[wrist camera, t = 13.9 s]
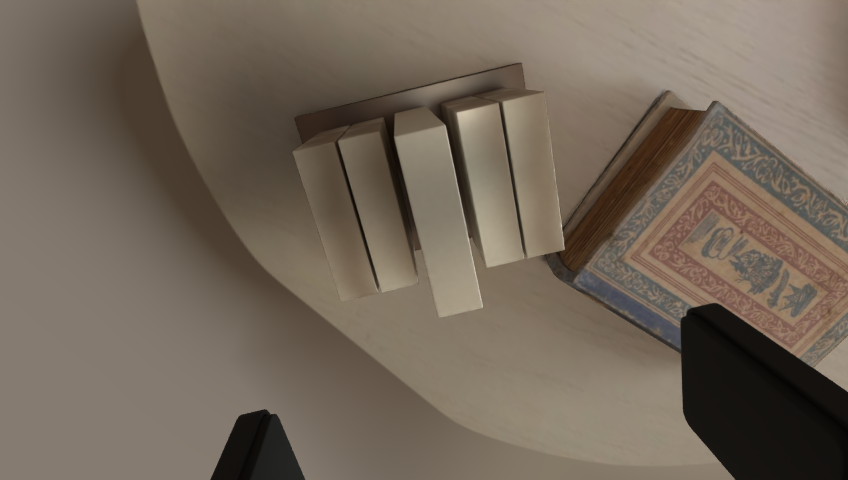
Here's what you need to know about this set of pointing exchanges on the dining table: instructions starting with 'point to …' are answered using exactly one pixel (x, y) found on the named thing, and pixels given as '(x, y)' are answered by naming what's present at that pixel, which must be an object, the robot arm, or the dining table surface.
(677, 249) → the book
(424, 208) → the white book
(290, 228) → the dining table surface
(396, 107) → the white books
